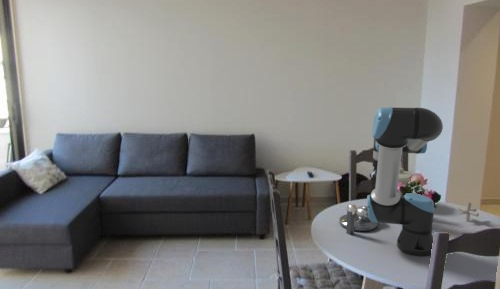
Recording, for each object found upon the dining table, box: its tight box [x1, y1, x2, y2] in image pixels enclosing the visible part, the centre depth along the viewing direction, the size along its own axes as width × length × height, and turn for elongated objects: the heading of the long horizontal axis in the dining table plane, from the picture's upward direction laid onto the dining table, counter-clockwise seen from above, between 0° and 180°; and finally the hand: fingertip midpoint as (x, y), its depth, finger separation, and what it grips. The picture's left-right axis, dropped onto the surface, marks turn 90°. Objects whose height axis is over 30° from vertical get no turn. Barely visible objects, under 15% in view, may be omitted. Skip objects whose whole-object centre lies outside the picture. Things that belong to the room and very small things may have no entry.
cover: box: [357, 205, 370, 222], centre depth 192 cm, size 8×8×6 cm
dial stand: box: [345, 204, 356, 236], centre depth 179 cm, size 5×2×14 cm, turn 33°
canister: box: [398, 167, 414, 195], centre depth 215 cm, size 18×18×21 cm
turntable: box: [339, 204, 378, 232], centre depth 190 cm, size 19×18×5 cm
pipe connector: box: [457, 201, 480, 223], centre depth 191 cm, size 10×10×10 cm
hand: (378, 203), depth 196 cm, fingers closed
